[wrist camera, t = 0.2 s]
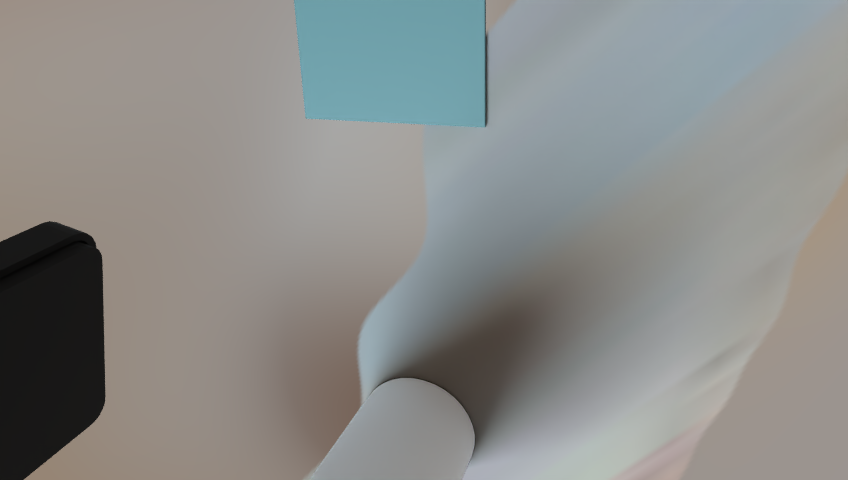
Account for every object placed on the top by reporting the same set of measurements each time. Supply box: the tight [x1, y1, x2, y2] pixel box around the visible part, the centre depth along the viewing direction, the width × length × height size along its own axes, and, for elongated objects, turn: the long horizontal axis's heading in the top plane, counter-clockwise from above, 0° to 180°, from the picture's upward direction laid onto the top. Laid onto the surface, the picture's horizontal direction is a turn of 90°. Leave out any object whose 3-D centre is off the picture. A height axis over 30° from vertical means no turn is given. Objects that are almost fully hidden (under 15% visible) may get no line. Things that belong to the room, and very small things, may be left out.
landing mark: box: [294, 0, 486, 127], centre depth 39 cm, size 11×11×1 cm
